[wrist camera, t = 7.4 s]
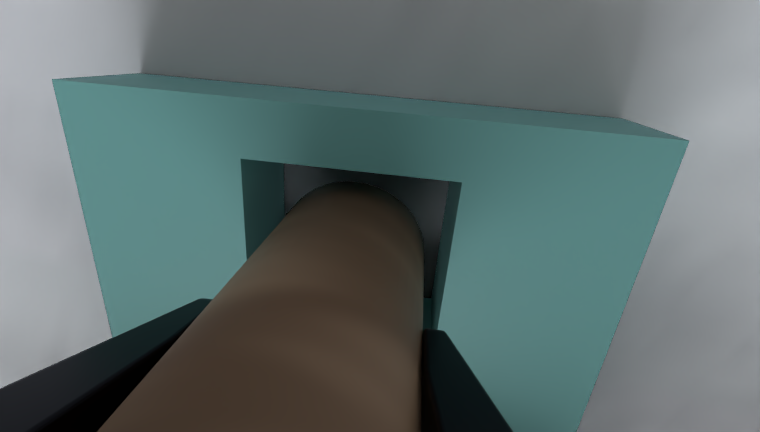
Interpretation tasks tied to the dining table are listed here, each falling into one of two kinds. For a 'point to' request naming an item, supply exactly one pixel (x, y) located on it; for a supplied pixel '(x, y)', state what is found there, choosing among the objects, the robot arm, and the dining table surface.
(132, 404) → the walnut peg
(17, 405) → the robot arm
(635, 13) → the dining table surface
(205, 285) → the socket plate
